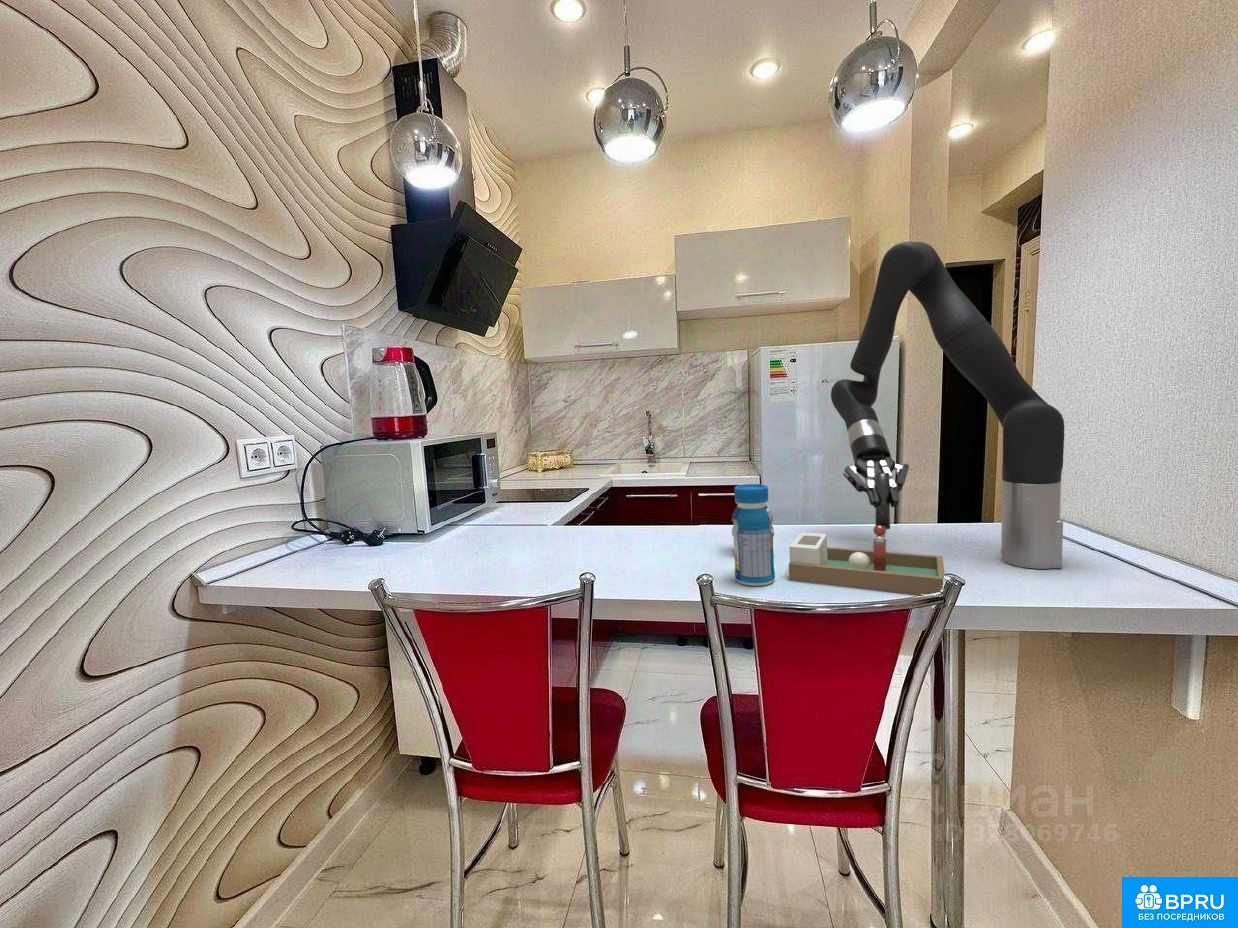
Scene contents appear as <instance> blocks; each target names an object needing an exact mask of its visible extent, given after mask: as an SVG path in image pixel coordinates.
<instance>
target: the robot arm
mask: <svg viewBox="0 0 1238 928" xmlns="http://www.w3.org/2000/svg"><path fill="white" fill-rule="evenodd" d="M908 292H910V293H911V295H913V296H914V297H915V298H916V299H917V301H918V302H919V303H920V305H921V306H922V307H923V309H924V310H925V311H924V312H925V313H926V315H927V319H928V321H929V325H930V328H931V331H932V333H933V336H934V339H935V340H936V342H937V344H938V345H939V347H940V349H941V350H942V352H943V353H944V354H945V356H946V357H947V358H948V359H949V361H950V362H951V363H952V364H953V366H954V367H955V368H956V369H957V370H958V371H959V372H960V374H961V375H962V376H963V377H964V378H965V379H966V380H967V381H968V382H969V383H971V384H972V386H974V387H975V389H977V390H978V392H979V393H981V395H982V396H983V397H984V398H985V400H986V401H987V403H988V404H989V405H990V408H991V410H993V413H994V414H995V417H997V419H998V421H999V423H1000V425H1001V427H1002V465H1001V466H1002V467H1001V475H1002V476H1001V477H1002V479H1001V480H1002V481H1001V533H1000V534H1001V539H1000V540H1001V542H1000V543H1001V547H1000V555H1001V560H1000V561H1003V562H1004V563H1006V564H1008V565H1013V566H1015V567H1021V568H1027V569H1037V570H1038V569H1039V570H1045V569H1046V570H1049V569H1062V568H1063V545H1064V544H1063V539H1064V538H1063V537H1064V535H1063V534H1064V522H1063V521H1062V520H1061V494H1062V493H1061V491H1062V474H1063V473H1062V472H1063V467H1064V450H1065V420H1064V417H1063V415H1062V413H1061V412H1060V411H1059V410H1058V409H1057V408H1055V407H1054V406H1052V405H1050V404H1049V403H1048V402H1046V400H1045V399H1043V397H1041V396H1040V395H1039V394H1038V393H1037V391H1036V390H1035V389H1034V388H1032V387H1031V385H1030V384H1029V383H1028V382H1027V381H1026V380H1025V378H1024V377H1023V376H1022V374H1021V373H1020V371H1019V370H1018V367H1017V365H1016V364H1015V362H1014V359H1013V358H1012V356H1011V354H1010V351H1008V349H1007V346H1006V345H1005V343H1004V342H1003V340H1002V339H1001V338H1000V336H999V334H998V333H997V331H996V330H995V329H994V328H993V326H992V325H991V323H990V322H989V321H987V319H986V317H984V315H982V313H981V312H980V311H979V309H977V307H976V306H975V305H974V304H973V303H972V301H971V300H970V298H968V297H967V296H966V294H965V293H963V291H962V290H961V289H960V288H959V287H958V286H957V284H956V282H955V281H954V280H953V278H952V276H951V274H950V273H949V271H948V270H947V268H946V266H945V265H944V263H943V261H942V260H941V257H940V256H939V254H938V253H937V251H936V249H935V248H934V247H933V246H932V245H930V244H929V243H926V242H923V241H904V242H899V243H896V244H894V245H893V246H891V247H890V248H889V249H888V250H887V252H885V254H884V256H883V257H882V260H881V263H880V266H879V271H878V275H877V279H876V284H875V289H874V293H873V297H872V301H871V305H870V308H869V311H868V315H867V319H866V321H865V325H864V328H863V330H862V333H861V336H860V338H859V341H858V343H857V345H856V348H855V351H854V354H853V355H852V357H851V358H852V359H851V360H850V365H849V366H850V370H852V372H855V373H856V374H859V375H861V376H863V379H862V380H853V379H852V380H851V379H847V378H845V379H838V380H837V381H836V382H835V383H834V384H833V385H832V388H831V391H830V399H831V402H832V405H833V407H834V408H835V410H836V412H837V413H838V414H839V416H840V417H841V418H842V420H843V421H844V422H845V426H846V430H847V431H846V432H847V438H848V442H849V443H848V444H849V445H848V446H849V447H850V451H851V453H852V458H853V462H854V463H853V466H852V465H851V466H850V465H849V466H848V465H846V466H845V468H844V471H843V477H844V478H845V479H846V480H847V481H848V483H850V484H851V486H852V487H853V488H854V489H855V490H856V492H858V493H862V492H863V493H866V495H867V497H868V502H869V504H870V506H873V508H874V509H875V508H877V507H878V506H879V498H878V495H877V491H876V488H875V473H878V472H886V473H890V508H896V507H897V505H898V504H899V501H900V496H899V493H898V492H901V491H902V489H903V486H904V485H905V483H906V479H907V476H908V472H909V468H910V465H909V464H907V463H904V464H902V465H901V464H897V463H896V462H895V461H894V460H893V458H892V456H891V452H890V448H889V446H888V443H887V438H886V437H885V434H884V431H883V429H882V427H881V425H880V422H879V419H878V416H877V413H876V411H875V409H874V408H873V407H872V406H873V405H874V404H875V403H876V401H877V397H878V390H879V382H880V376H881V371H882V367H883V365H884V363H885V361H886V359H887V356H888V353H889V351H890V349H891V346H892V343H893V340H894V335H895V329H896V322H897V318H898V314H899V310H900V309H901V305H902V303H903V301H904V299H905V297H906V295H907V293H908ZM894 470H895V472H896V475H897V476H898V479H897V481H896V482H895V480H894V477H893V474H892V472H893V471H894ZM857 473H858V474H857ZM859 475H860V476H861V477H863V478H864V481H863V479H862V478H861V477H860V476H859Z"/></svg>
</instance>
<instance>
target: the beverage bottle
mask: <svg viewBox="0 0 1238 928" xmlns="http://www.w3.org/2000/svg"><path fill="white" fill-rule="evenodd" d="M733 491H734V502H735V504H736V507H735V509H734V511H733V513H732V516H731V517H732V518H731V521H732V523H733V526H732V528H731V535H732V537H733V553H734V579H735V581H737V583H739V584H742V585H745V586H751V587H760V586H761V587H763V586H767V585H770V584H772V583H774V582H775V580H776V572H775V564H774V563H775V562H774V561H775V560H774V559H775V558H774V536H775V529H774V527H773V525H772V522H774V519H773V518H774V517H773V514H772V512H771V510H770V508H769V507H768V506H767V505H766V504H767V503H768V501H769V487H768V485H765V484H759V483H746V484H745V483H744V484H739V485H736V486H734V490H733ZM737 504H738V506H737Z"/></svg>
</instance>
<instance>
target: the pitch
mask: <svg viewBox="0 0 1238 928" xmlns="http://www.w3.org/2000/svg"><path fill="white" fill-rule="evenodd" d="M788 548H789V563H788V580H789V581H793V582H801V583H810V584H811V583H812V584H818V585H819V584H820V585H827V586H837V587H846V588H855V589H863V590H870V591H871V590H872V591H880V592H890V593H897V594H905V595H912V596H921V594H931V593H936V592H939V591H940V590H941V588H942V585H943V577H944V574H945V575H946V573H945V572H946V571H945V565H944V559H943V558H944V557H943V556H942V555H931V554H921V553H907V552H906V553H905V552H897V551H896V552H894V551H893V552H892V551H886V571H877V570H874V550H870V549H869V550H866V549H858V548H857V549H855V548H846V547H845V548H844V547H832V546H831V547H830V546H828V533H816V532H800V533H799V535H798V536H797V537H796V538H795V539H794V541H793V542H792V543H791V544H790V545H789V547H788ZM855 552H862V553H864V554H866V555H867V556H868V557H869V559H870V566H869V568H868V569H867V570H866V569H856V568H851V567H850V565H849V557H850V556H851V555H852V554H853V553H855Z"/></svg>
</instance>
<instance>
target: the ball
mask: <svg viewBox="0 0 1238 928" xmlns="http://www.w3.org/2000/svg"><path fill="white" fill-rule="evenodd" d="M849 565H850V567H851V568H856V569H866V570H867V569H868V568H869V566H870V559H869V557H868V556H867V555H866V554H864V553H862V552H855V553H853V554H852V555H851V556H850V557H849Z"/></svg>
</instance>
